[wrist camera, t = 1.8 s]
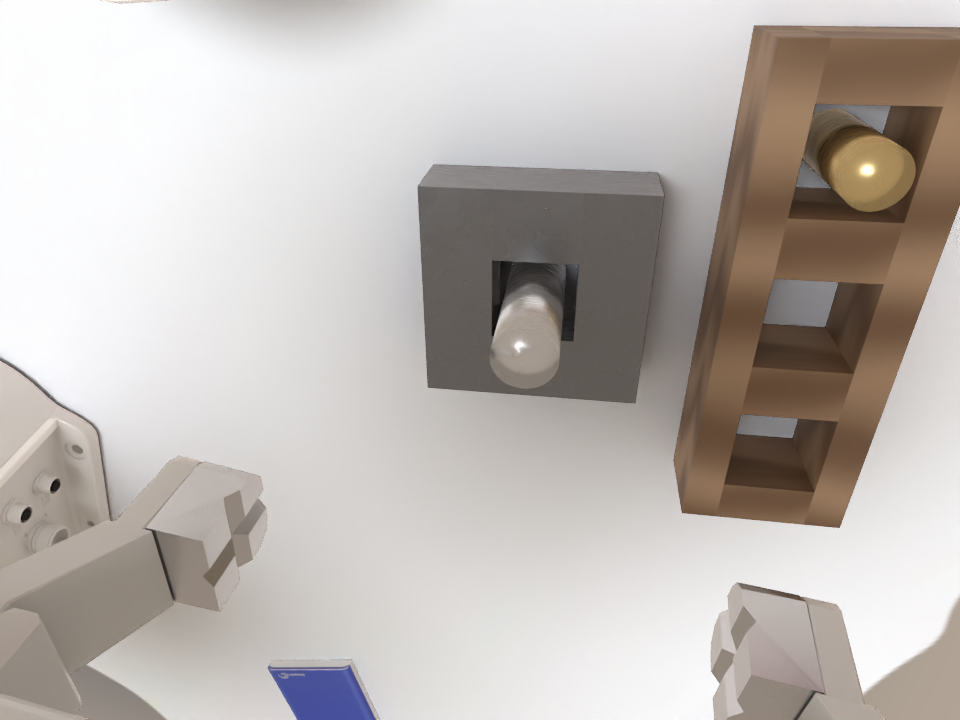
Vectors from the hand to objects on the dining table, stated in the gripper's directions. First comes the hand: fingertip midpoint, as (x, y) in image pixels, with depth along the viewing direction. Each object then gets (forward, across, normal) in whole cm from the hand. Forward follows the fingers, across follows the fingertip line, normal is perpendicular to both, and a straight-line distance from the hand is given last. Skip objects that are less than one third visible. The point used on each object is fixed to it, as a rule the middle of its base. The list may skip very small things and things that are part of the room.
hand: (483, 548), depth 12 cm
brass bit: (+30, +11, 0) cm, 31 cm away
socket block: (+28, -2, -9) cm, 29 cm away
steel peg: (+28, -2, -9) cm, 29 cm away
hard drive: (+25, -16, -56) cm, 64 cm away
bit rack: (+29, +12, -8) cm, 32 cm away
